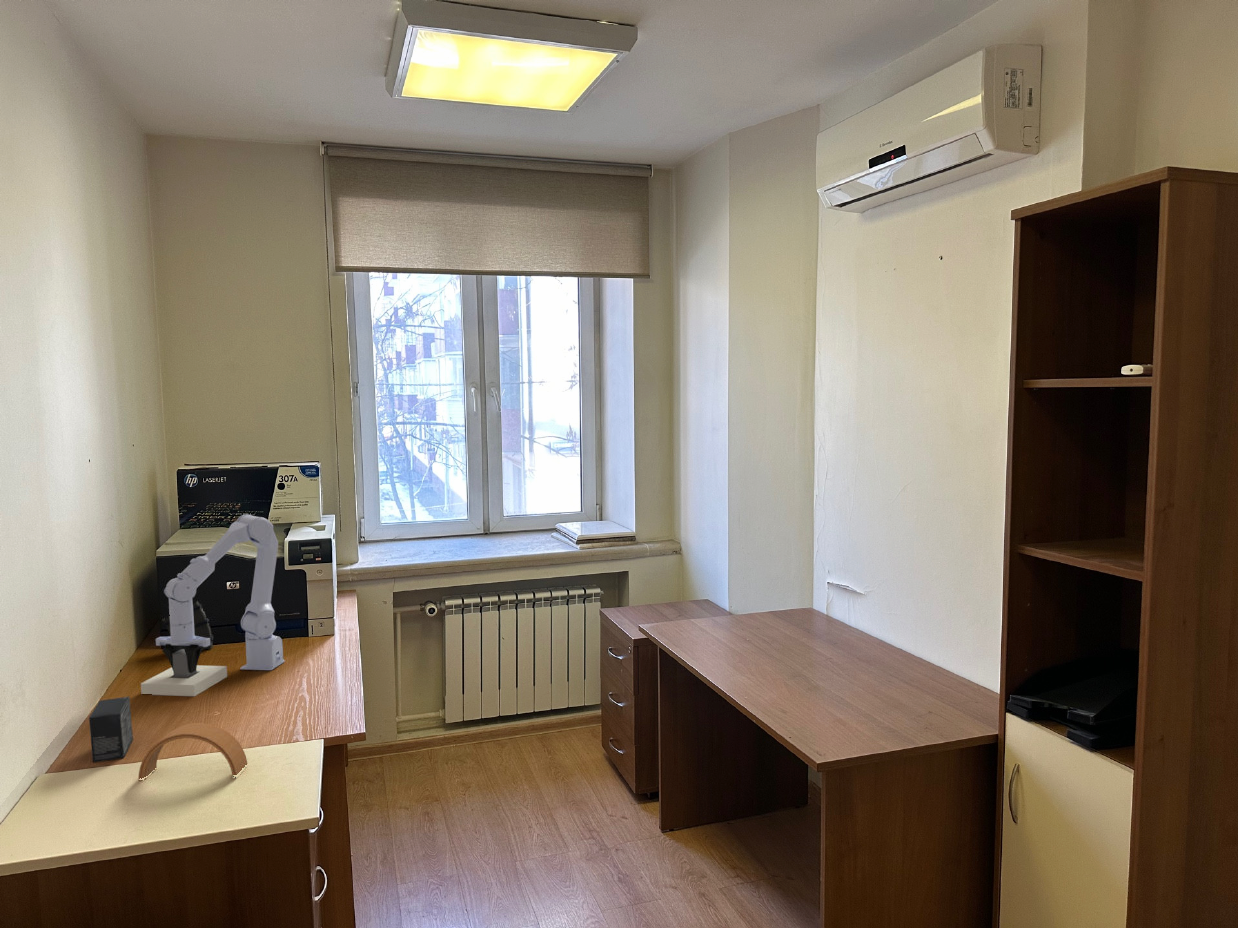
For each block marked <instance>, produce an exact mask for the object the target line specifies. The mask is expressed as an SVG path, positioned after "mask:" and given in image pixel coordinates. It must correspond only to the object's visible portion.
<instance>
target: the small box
mask: <svg viewBox="0 0 1238 928" xmlns="http://www.w3.org/2000/svg"><path fill="white" fill-rule="evenodd" d="M130 698H131V697H130V696H124V697H117V698H116V697H115V698H110V699H103V700H99V701H98V702H97V704H96V706H95V707H94V709H93V710H92V712H91V713H90V715H89V717H88V722H89V733H90V734H89V736H90V746H91V760H92V763H99V762H107V761H113V760H120V759H124V758H125V757H126V756H127V753H128V751H129V749H130V746H131V745H132V742H133V741H134V736H133V735H134V734H133V726H132V715H131V714H132V713H131V700H130Z"/></svg>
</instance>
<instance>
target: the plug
mask: <svg viewBox="0 0 1238 928" xmlns="http://www.w3.org/2000/svg"><path fill="white" fill-rule="evenodd" d="M172 655H173V672H174V678H190V677H192V676H194V675H195V674H197V670H196V671H194V672H192V673H189V669H188V659H187V656H186V653H185V650H184V649H181V650H179V651H177V652H175V653H173V654H172Z"/></svg>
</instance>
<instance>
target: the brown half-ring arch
mask: <svg viewBox="0 0 1238 928" xmlns="http://www.w3.org/2000/svg"><path fill="white" fill-rule="evenodd" d="M180 739H194V740H199V741H202V742H204V743H207V744H209V745H211V746H213V747H214V748H215V749H216V750H217V751H219V752H220V754H222V756H223V757H224V758H225V760H226V761H227V763H228V766H229V768H230V771H231V775H237V774H238V773H239V772H240V771H241V770H242V768H244V767H245V765H247V764H248V759H247V756H246V753H245V751H244V748H243V747H242V745H241V744H240V742H239V741H238V740H237V739H236V737H235V736H234V735H232V734H231V733H229V732H228V731H227V730H225V729H224V728H221V727H220V726H217V725H214V724H212V723H211V724H210V723H204V722H192V723H187V724H184V725H181V726H178V727H176V728H175V729H173V730H172V731H170V732H169V733H167V734H166V735H165V736H164V737H163V738H161V739H160V740H159V741H158V742H156V743H155V744H154V745H153V746H152V747H151V748H150V749H148V752H146V754H145V756H144V757H143V758H142V760H141V764H140V766H139V770H138V780H139V779H140V778H141V779H142V778H144V777H146V776H148V775H149V774H150V773H151V772H152V771H153V770H155V768H157V763H158V758H159V755H160V753H161V750H162V749H163V747H164V745H165V744H168V743H170V742H173V741H176V740H180ZM155 771H156V770H155Z"/></svg>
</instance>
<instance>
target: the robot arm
mask: <svg viewBox="0 0 1238 928" xmlns="http://www.w3.org/2000/svg"><path fill="white" fill-rule="evenodd" d="M246 542H251V543H252V544H253V545H254V546H256V548H257V552H256V557H255V558H256V559H255V568H254V572H253V573H254V574H253V581H252V582H253V583H252V589H251V595H250V596H251V599H250V602H249V603H248V604H247V606H245V612H244V614H243V615H242V617H241V619H240V627H241V629H242V630H243V631H245V635H244V637H245V655H246V656H245V657H246V664H244V665H243V666H240V670H246V671H249V670H250V671H251V670H252V671H272V670H274V669H276V668H277V667H279V666H280V665H282V664H284V663H285V661H286V660H285V659H284V648H283V639H282V638H281V637H280V636H277V635H274V634H273V633H274V632H275V631H276V628H277V622H276V619H275V610H274V608H273V606H272V596H273V595H272V594H273V587H274V582H275V573H276V572H275V571H276V567H277V566H276V564H277V558H278V550H279V549H278V548H279V541H278V538H277V536H276V533H275V531H274V524H272V522H271V521H270V520H269V519H267V518H265V517H262V516H255V515H251V514H248V513H247V514H243V515H240V516H239V517H238V518H237V519H236V521H234V522H232V523H231V524H230V526H229V528H228V529H227V531H226V532H225V533H224V534H223V535H222V536H221V537H220V538H219V540H217V542H216V543H215V544H214V545H212V547H211V548H210V549H209V551H208V552H207V553H206V554H205V555H202V556H201V555H200V556H197V557H195V558H192V559H190V561H189V565H188V566H187V567H186V568H184V569H183V571H181V573H180V572H179V573H177V575H176V576H177V577H175V578H172V579H170V580H169V581H168V582H167V584H166V585H165V586H166V587H165V588H164V589H163V593H164V595H165V596H166V597H167V598H168V609H169V610H168V612H169V615H170V631H171V636H169V635H168V636H159V637H157V638H155V646H159V647H160V646H164V647H163V648H162V652H163V654H164V655H165V656H166V658H167V660H168V662H169V663H170V666H171V667H172V669H173V655H172V654H173V653H175V652H177V651H179V650H181V648H182V646H190V647H188V648H186V649H184V650H185V653H186V656H187V659H188V669H189V673H192V672H194V671H196V668H197V665H198V662H199V659H200V655H201V654H202V651H204V650H203V648H204V647H207V646H209V645H210V638H204V637H199V636H195V634H194V617H193V603H194V602H193V598H195V596H196V594H197V588H198V587H199V586H200V585H201V584H203V582H204V581H205V580H207V578H208V577H209V576H210V575H211V574H212V573H213V572H215V569H216V568H215V567H216V563H218V561H219V560H221V558H223V557H224V556H225V555H226V554H227V553H228V552H230V550H231V549H232V548H234V547H235V546H236V545H237V544H240V543H246ZM169 615H168V616H169Z"/></svg>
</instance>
